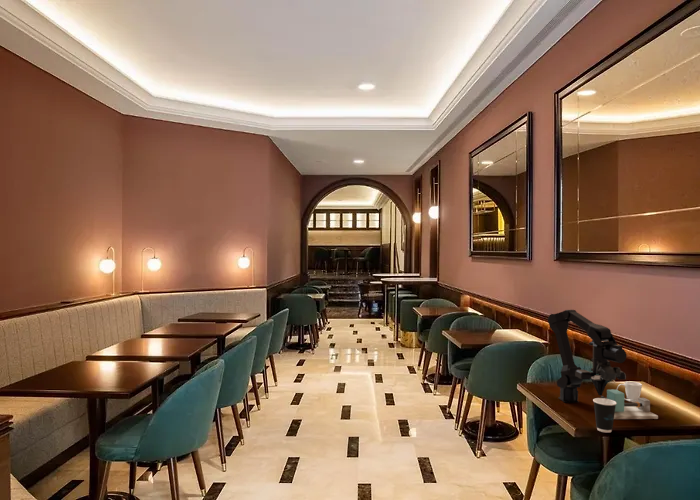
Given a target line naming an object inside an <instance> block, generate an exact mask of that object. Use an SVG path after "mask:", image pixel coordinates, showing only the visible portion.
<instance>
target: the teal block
mask: <svg viewBox="0 0 700 500" xmlns="http://www.w3.org/2000/svg"><path fill="white" fill-rule="evenodd" d="M606 398H607V399H610V400H613V401H615V402H616V403H617V404H616V407H615V412H624V403H625V399H624V398H625V393H624V392H622V391H619V390H617V389H606Z"/></svg>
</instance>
